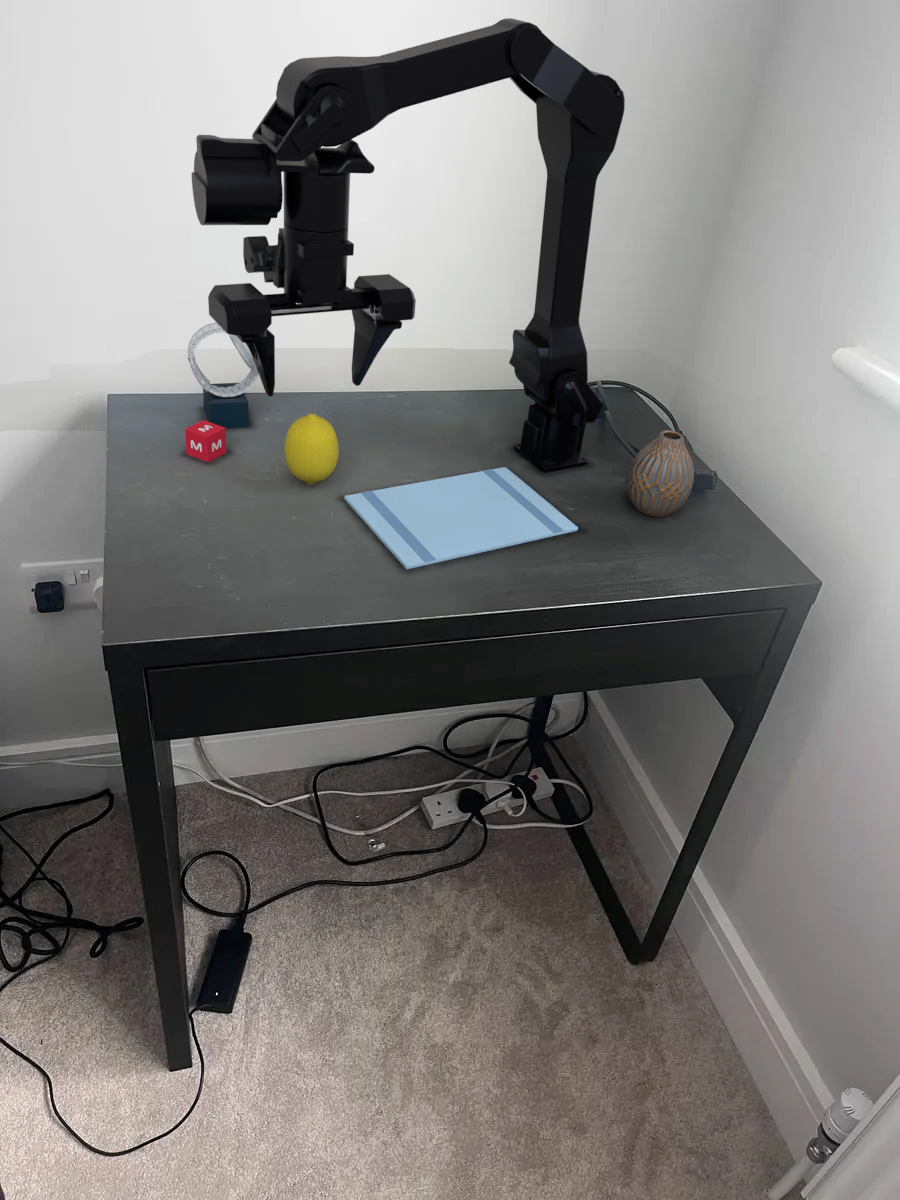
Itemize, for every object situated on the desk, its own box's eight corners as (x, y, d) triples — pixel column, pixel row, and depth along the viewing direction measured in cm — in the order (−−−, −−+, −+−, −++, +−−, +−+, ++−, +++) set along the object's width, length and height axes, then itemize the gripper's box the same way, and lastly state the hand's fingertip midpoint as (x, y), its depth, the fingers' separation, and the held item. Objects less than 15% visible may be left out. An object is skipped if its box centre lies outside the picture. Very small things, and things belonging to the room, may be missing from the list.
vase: (615, 513, 98) (633, 439, 93) (627, 486, 104) (645, 415, 99) (678, 530, 97) (700, 456, 92) (688, 502, 102) (709, 430, 97)
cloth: (505, 469, 104) (505, 466, 104) (577, 530, 95) (578, 527, 94) (344, 499, 95) (344, 495, 95) (406, 569, 85) (407, 565, 85)
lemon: (327, 501, 94) (330, 430, 90) (276, 491, 95) (276, 419, 90) (343, 477, 99) (346, 408, 94) (294, 468, 99) (295, 398, 95)
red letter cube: (204, 444, 101) (203, 419, 100) (226, 452, 100) (225, 427, 99) (186, 454, 99) (184, 428, 97) (208, 462, 98) (206, 437, 96)
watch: (265, 426, 107) (264, 333, 100) (195, 430, 104) (189, 335, 98) (256, 406, 111) (255, 316, 105) (188, 409, 108) (182, 317, 102)
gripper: (370, 199, 91) (363, 350, 100) (184, 203, 83) (195, 368, 92) (424, 230, 84) (411, 390, 93) (225, 238, 75) (232, 414, 84)
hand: (313, 389), depth 91 cm, fingers open, 9 cm apart
